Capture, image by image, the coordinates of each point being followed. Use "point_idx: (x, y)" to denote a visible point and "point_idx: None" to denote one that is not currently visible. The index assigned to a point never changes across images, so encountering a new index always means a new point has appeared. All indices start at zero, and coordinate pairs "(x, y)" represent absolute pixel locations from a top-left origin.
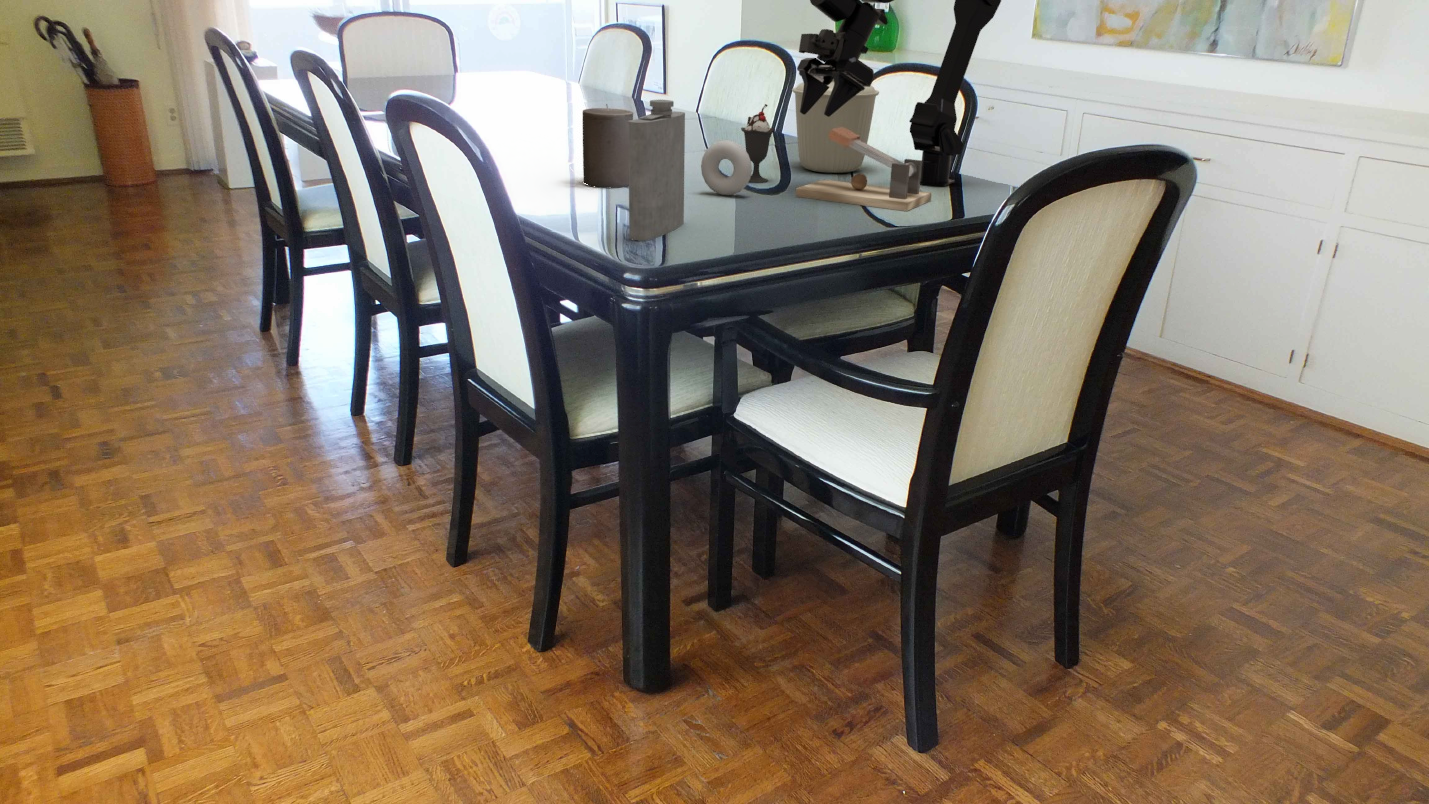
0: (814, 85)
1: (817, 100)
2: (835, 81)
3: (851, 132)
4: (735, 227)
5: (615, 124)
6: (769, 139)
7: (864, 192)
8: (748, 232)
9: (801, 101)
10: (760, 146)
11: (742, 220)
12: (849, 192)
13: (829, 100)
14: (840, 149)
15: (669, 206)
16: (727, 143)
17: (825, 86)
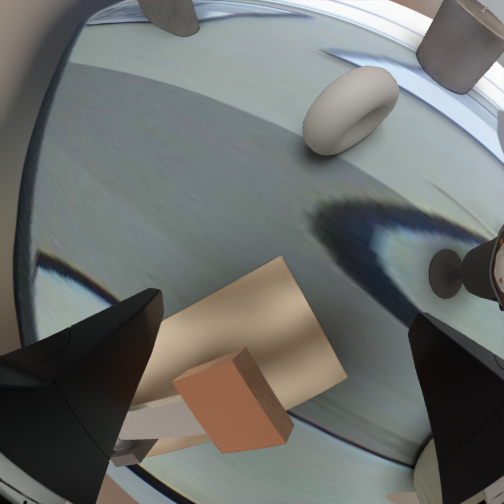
0: (492, 438)
1: (431, 424)
2: (4, 375)
3: (240, 442)
4: (130, 74)
5: (447, 4)
6: (488, 294)
7: (180, 366)
8: (105, 81)
9: (464, 335)
10: (475, 263)
11: (153, 88)
12: (192, 338)
13: (109, 318)
14: (434, 467)
15: (147, 7)
16: (353, 71)
17: (456, 496)
